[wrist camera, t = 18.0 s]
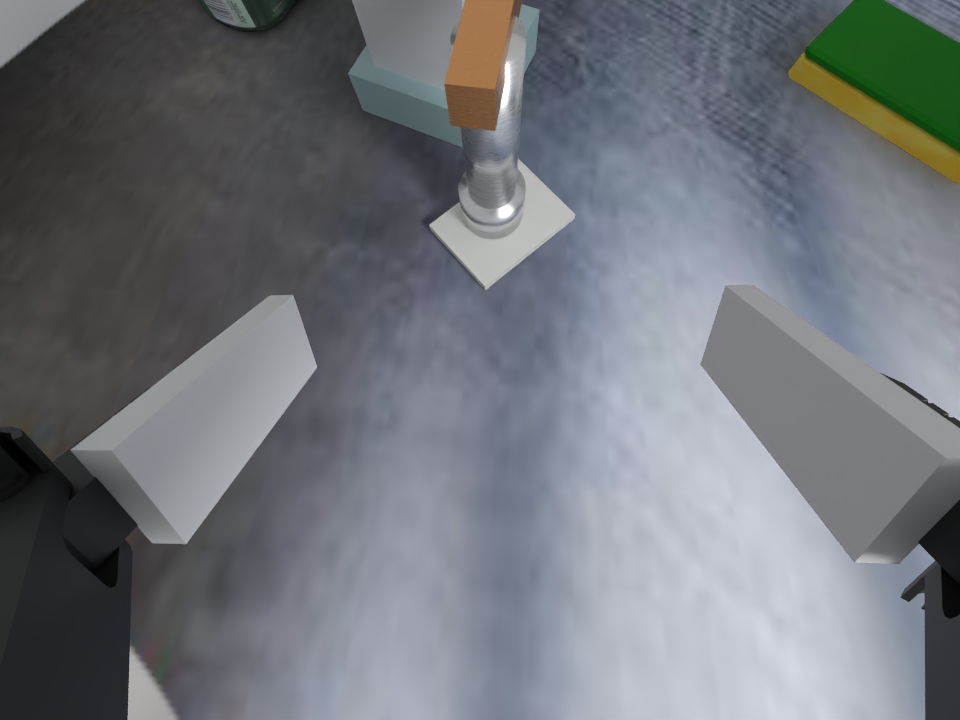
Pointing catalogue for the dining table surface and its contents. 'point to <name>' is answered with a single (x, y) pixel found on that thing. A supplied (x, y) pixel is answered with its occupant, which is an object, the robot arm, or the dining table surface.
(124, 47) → the dining table surface
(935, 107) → the dish sponge
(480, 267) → the mat
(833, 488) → the robot arm
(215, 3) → the coffee jar
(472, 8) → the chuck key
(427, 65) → the square tube
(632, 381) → the dining table surface
